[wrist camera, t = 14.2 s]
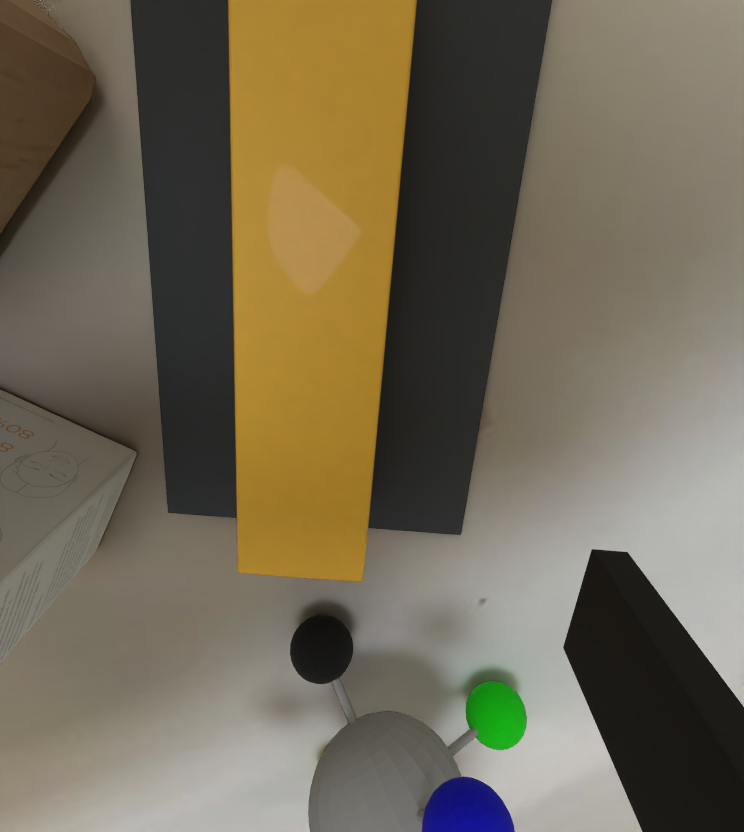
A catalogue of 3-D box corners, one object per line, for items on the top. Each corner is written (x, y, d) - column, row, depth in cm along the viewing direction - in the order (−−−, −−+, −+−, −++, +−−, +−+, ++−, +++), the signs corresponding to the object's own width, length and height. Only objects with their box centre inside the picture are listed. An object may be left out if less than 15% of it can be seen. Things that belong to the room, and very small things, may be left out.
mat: (126, -131, 13) (119, -142, 13) (563, -87, 14) (568, -96, 13) (171, 508, 20) (167, 513, 20) (459, 529, 21) (461, 535, 20)
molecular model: (228, 737, 25) (143, 1030, 16) (334, 549, 21) (303, 798, 12) (424, 804, 27) (450, 1103, 18) (558, 643, 23) (681, 923, 14)
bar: (271, -73, 14) (223, -211, 9) (417, -59, 14) (434, -188, 9) (266, 501, 20) (236, 574, 16) (366, 508, 20) (362, 583, 16)
